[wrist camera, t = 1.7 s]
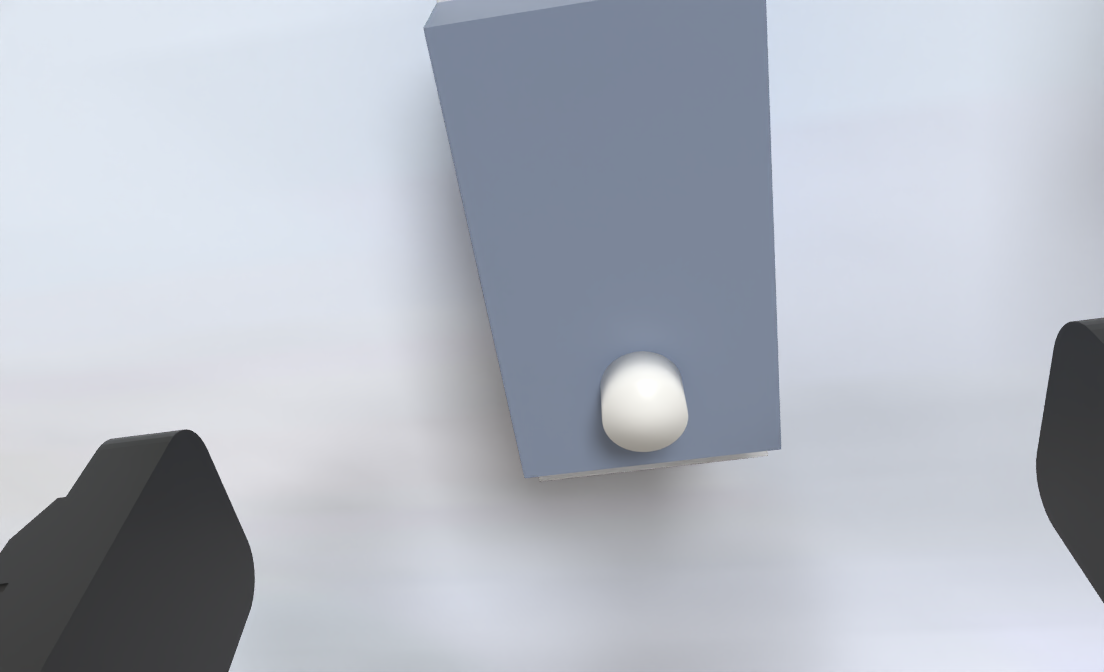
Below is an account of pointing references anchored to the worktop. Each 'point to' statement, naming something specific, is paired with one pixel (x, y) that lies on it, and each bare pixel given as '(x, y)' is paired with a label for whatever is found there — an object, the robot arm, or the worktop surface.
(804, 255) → the worktop surface
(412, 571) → the worktop surface
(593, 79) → the servo
